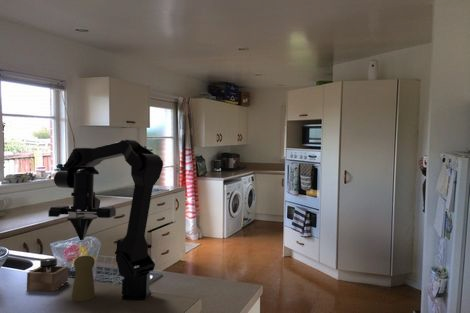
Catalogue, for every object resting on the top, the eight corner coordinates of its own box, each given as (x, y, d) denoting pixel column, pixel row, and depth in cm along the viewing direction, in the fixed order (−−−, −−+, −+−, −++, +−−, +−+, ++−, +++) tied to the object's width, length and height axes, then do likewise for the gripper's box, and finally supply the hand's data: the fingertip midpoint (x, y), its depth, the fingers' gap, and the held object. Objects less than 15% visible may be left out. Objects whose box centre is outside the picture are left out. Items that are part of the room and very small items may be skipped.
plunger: (62, 282, 112) (62, 257, 112) (52, 288, 106) (53, 262, 107) (43, 282, 112) (44, 257, 112) (33, 288, 106) (34, 262, 107)
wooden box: (67, 282, 113) (68, 266, 113) (54, 291, 105) (55, 273, 105) (41, 281, 113) (42, 265, 113) (26, 290, 105) (27, 272, 105)
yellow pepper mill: (86, 302, 97) (87, 259, 98) (66, 300, 98) (67, 258, 99) (99, 294, 103) (100, 254, 104) (80, 292, 104) (81, 253, 105)
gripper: (122, 188, 122) (120, 235, 121) (66, 187, 122) (64, 234, 122) (110, 190, 111) (108, 242, 110) (48, 189, 111) (46, 241, 110)
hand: (81, 240), depth 113 cm, fingers closed
